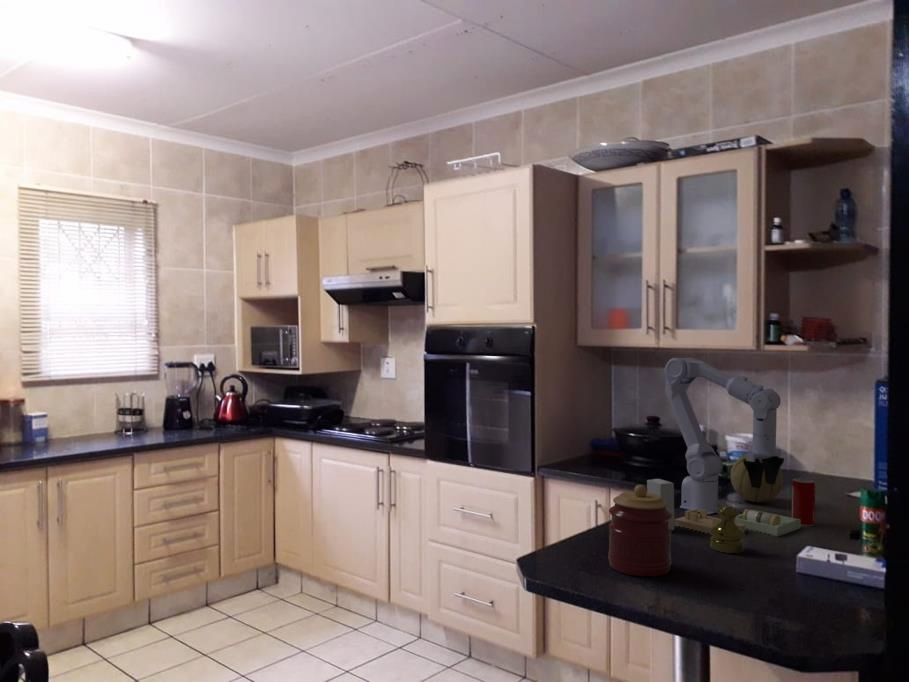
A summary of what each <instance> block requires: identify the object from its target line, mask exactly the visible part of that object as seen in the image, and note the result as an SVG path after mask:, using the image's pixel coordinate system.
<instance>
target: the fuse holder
mask: <svg viewBox="0 0 909 682" xmlns="http://www.w3.org/2000/svg"><path fill="white" fill-rule="evenodd" d="M720 521H721V518H717V517H713V516H709V515H708V514H707V511H706V510H702V509H701V510H700V512H698V509H696V508H695V509H692V510H688V509H687V510H684V516H681V517H678V518H674V527H679V526H680V528H683V527H685V528H684V529H687V528H689V529H688V530H691V529H693V530H692V531H695V530H697V531H696V532H699V531H701V532H700V533H703V532H705V533H704V534H707V533H710V534H709V535H711V532H710V530H711V528H712V527H713V526H716V525H717V523H719V522H720ZM734 523H735V524H736V525H737V526H738V528H740V529H741V530H743V531H744V532H746V529H745V525H744V524H740V523H736V522H735V518H734Z"/></svg>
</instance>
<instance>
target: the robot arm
mask: <svg viewBox="0 0 909 682" xmlns="http://www.w3.org/2000/svg"><path fill="white" fill-rule="evenodd" d="M663 373H664V375H665V380H664V381H665V386H664V387H665V389H664V390H665V391H664V392H665V395H666V397H667V399H668V402H669V405H670V407H671V409H672V412H673V415H674V418H675V420H676V422H677V425H678V428H679V430H680V432H681V434H682V437H683V440H684V442H685V443H684V444H685V445H686V447H687V449H686V453H685V455H684V457H685V459H686V470H687V473H688V474H689V475H687V476H686V477H684V479H683V480H682V483H681V501H680V502H681V504H680V506H679V509H684V510H687V511H688V510H692V509H695V508H696V509H698V513H700V510H701V509H702V510H706V511H707V515H712V514H717V512H716V510H717V509H718V508H720V507H719V506H718V505H719V504H718V503H719V475H720V473H722V470H723V467H724V464H723V461H722V459H721V458H720V456H718V455H717V453H716V452H715V448H713V447H712V446H711V445H710V444H709V443H707V441H706V438H705V436H704V434H703V431H702V428H701V426H700V423H699V420H698V419H697V416H696V414H695V411H694V409H693V406H692V404H691V401H690V398H689V396H688V394H687V391H688V388H689V387H690V385H691V384H692V383H693V382H694V381H695V379H697V378H703V379H704V380H708V381H709V382H711V383H714V384H716V385H718V386H720V387H723V388H725V389H726V391H727V394H728V395H729V396H732V397H733V398H736V399H737V400H739V401H740V402H743V403H744V404H748V405H749V406H750V408H751V409H752V413H753V414H752V416H753V417H752V419H753V420H752V445H751V446H752V447H751V448H752V449H751V451H749V452H747V453H746V454H745V455H746V459H744V460H743V464H744V465H745V467H746V469H747V471H748V474H749V478H750V482H751V486H752V487H754V488H760V487H761V483H762V475H763V471H765V481H766V483H767V484H772V485H774V484H775V481H776V478H777V474H778V471H779V469H781V466H782V465H783V463H784V462H785V458H784V457H781V455H782V452H781V451H782V450H781V449H780V448H777V413H778V412H777V409H778V408H779V407H780V406H781V402H782V401H781V397H780V394H778V392H777V391H775V390H774V389H773V388H766V389H765V388H764V386H763V385H762V384H756V383H754V382H752V381H750V380H748V378H749V377H747V376H745V375H744V376H743V375H742V376H737V375H736V376H735V377H731V376H730V375H727V374H726V373H724V372H722V371H720V370H718V369H717V368H715V367H713V366H712V365H709V364H708V363H706V362H704V361H702V360H699V359H697V358H694V357H682V358H681V357H673V358H671V359H669V360H668V361H667V362H666V364H665V367H664V368H663ZM759 460H762V462H763V463H762V462H761V461H759Z"/></svg>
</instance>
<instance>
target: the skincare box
mask: <svg viewBox="0 0 909 682" xmlns="http://www.w3.org/2000/svg"><path fill="white" fill-rule="evenodd" d="M646 484H647V485H646V490H647V492H648V493H653V494H656V495H659V496H660V497H661V498H662V499H664V500H665V501H667V503H668V505H667V506H666V510H668V511H669V512H670V513H671V514H672V517H671V518H670V519H669V527H670V528H671V531H675V483H674V482H671V481H668V480H666V479H665V480H664V479H661V478H652V479H647V480H646Z"/></svg>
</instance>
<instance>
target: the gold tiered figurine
mask: <svg viewBox="0 0 909 682" xmlns="http://www.w3.org/2000/svg"><path fill="white" fill-rule="evenodd" d="M716 514H718V516H720V519H721V521H720V522H719V523H717V525H716V526H713V527H712V528H711V530H710V532H711V534H710V535H711V537H709V538H710V542H709V543H710V544H709V545H710V548H711V549H712V550H713V549H714V551H715V550H717V551H716V552H718V551H720V552H719V553H722V552H725V553H724V554H729V553H737V554H742V553H743V552H744V551H745V541H744V538H745V531H743V530H741V529H740V528H738V526H737V525H736V524H735V523H734V518H735V517H736V516H738V515H739V514H740V511H738V510H737V509H736V508H733V507H732V506H731V505H724V506H720V507H719V508H718V509H717V510H716ZM741 552H742V553H741Z"/></svg>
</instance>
